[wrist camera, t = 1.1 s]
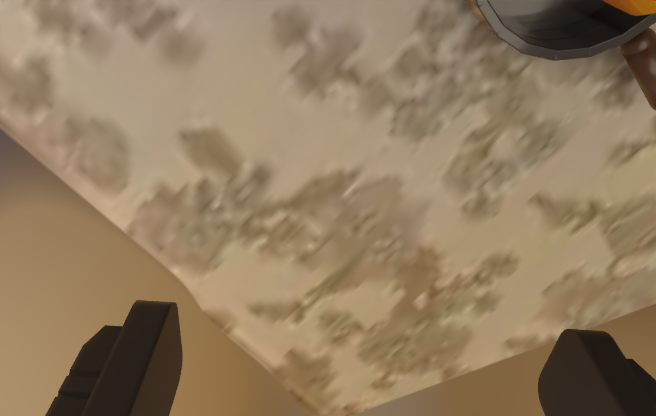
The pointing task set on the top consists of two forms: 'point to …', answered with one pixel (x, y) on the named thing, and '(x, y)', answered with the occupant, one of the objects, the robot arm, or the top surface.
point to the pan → (559, 26)
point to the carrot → (634, 6)
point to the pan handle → (643, 62)
